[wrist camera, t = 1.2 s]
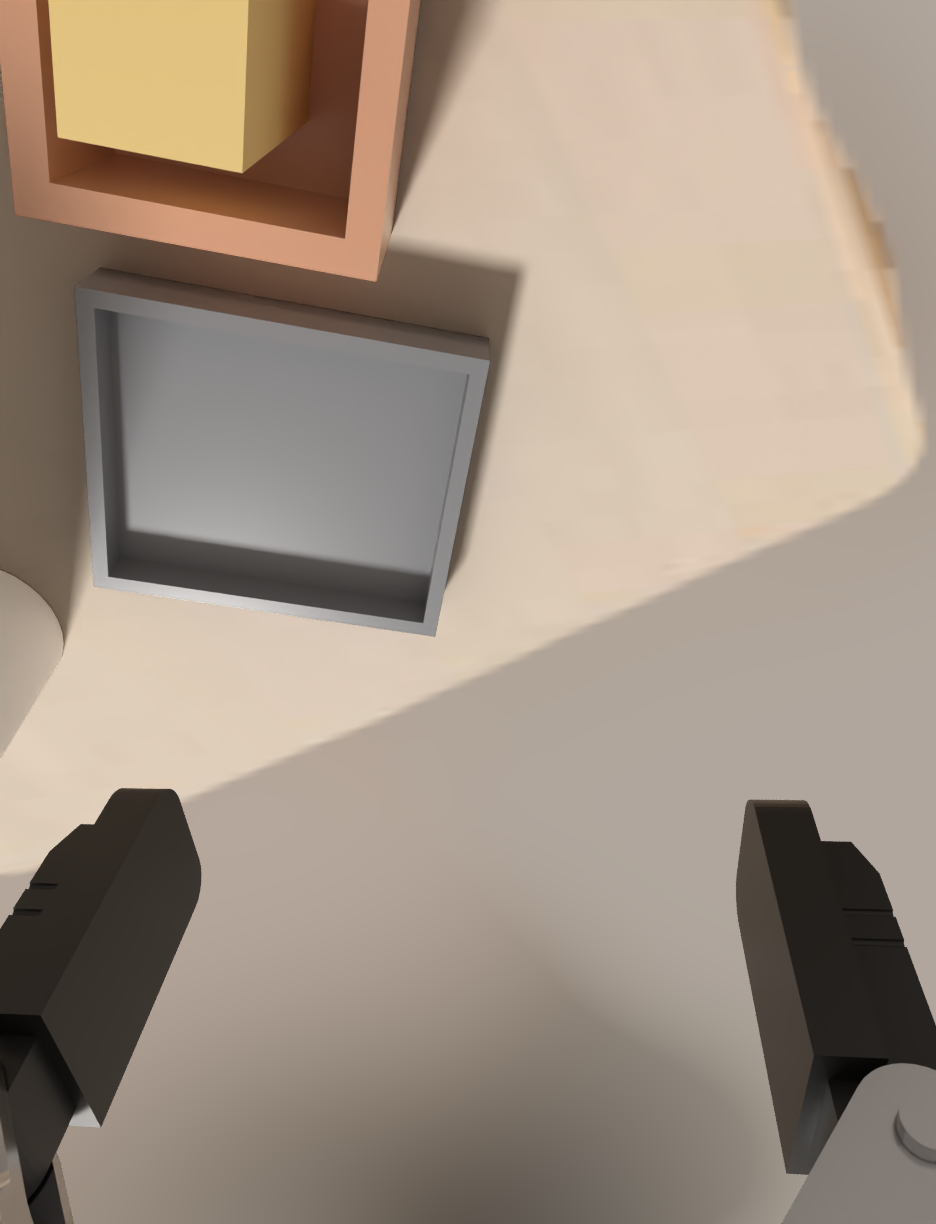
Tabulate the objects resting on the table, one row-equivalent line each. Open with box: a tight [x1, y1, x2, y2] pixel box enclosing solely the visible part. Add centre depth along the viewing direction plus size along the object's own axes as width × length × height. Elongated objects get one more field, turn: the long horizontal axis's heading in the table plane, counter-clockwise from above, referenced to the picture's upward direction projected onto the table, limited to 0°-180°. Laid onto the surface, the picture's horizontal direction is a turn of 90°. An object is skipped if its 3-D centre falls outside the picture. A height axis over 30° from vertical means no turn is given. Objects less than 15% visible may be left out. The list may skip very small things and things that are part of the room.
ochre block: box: [48, 0, 316, 173], centre depth 23 cm, size 4×4×10 cm
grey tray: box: [74, 268, 490, 637], centre depth 35 cm, size 14×12×2 cm
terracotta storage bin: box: [0, 0, 421, 282], centre depth 25 cm, size 10×10×6 cm
